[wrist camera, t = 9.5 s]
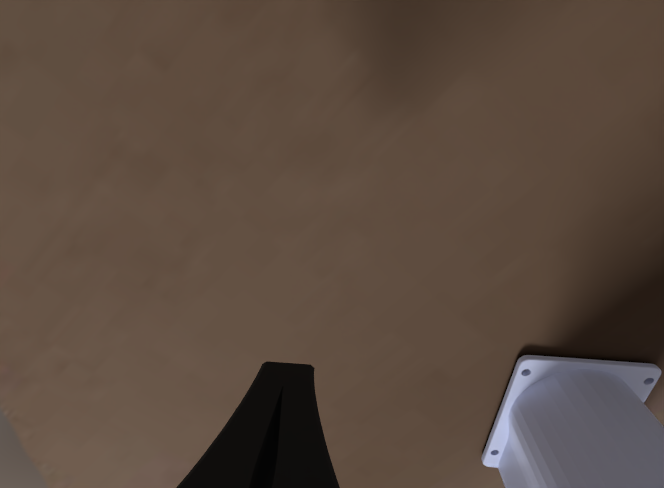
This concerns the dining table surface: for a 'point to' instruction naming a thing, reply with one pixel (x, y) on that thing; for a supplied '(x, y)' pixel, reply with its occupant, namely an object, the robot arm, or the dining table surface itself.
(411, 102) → the dining table surface
